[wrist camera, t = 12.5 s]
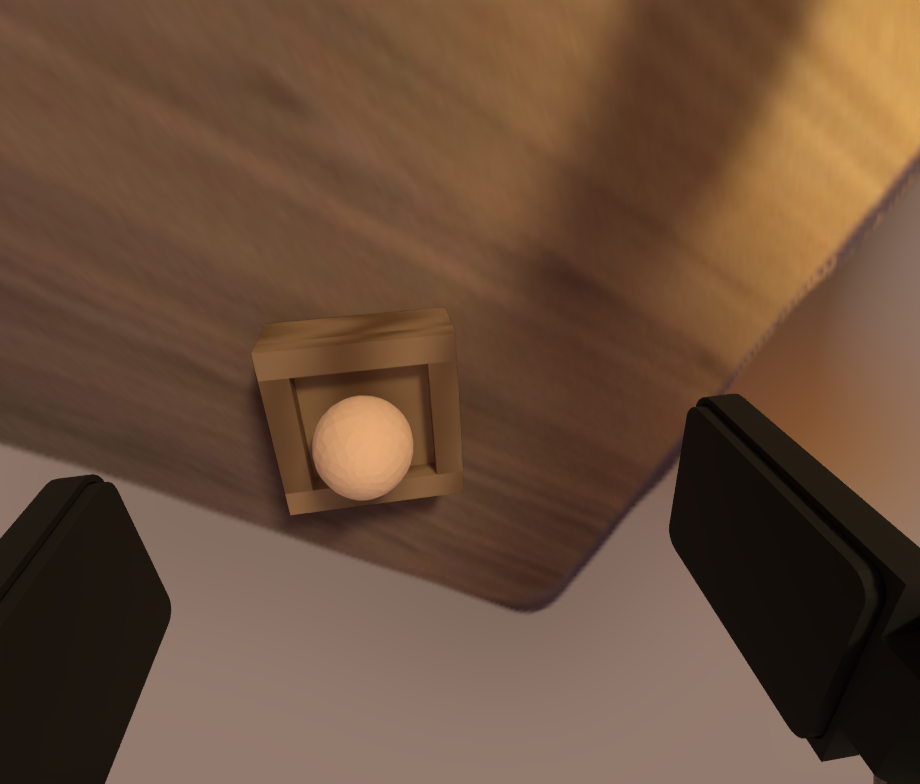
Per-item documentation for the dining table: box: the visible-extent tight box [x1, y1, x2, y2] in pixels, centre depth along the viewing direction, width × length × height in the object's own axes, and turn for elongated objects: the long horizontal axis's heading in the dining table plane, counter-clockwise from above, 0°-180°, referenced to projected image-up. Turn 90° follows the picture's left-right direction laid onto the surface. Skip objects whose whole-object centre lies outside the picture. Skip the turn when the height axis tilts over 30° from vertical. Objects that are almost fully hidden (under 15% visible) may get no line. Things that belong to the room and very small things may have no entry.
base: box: [251, 307, 464, 515], centre depth 31 cm, size 10×10×4 cm
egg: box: [312, 395, 413, 500], centre depth 28 cm, size 5×5×6 cm
